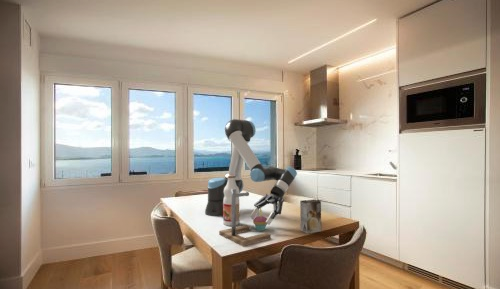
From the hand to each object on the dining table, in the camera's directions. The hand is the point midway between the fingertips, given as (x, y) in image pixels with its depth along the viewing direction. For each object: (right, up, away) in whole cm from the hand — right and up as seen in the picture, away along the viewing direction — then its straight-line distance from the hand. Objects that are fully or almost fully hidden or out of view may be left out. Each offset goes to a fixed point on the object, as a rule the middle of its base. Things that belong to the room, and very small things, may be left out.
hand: (259, 220), depth 145 cm
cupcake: (+1, -5, +1) cm, 6 cm away
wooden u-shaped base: (-8, -5, -11) cm, 14 cm away
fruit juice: (-16, -5, +12) cm, 21 cm away
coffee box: (+27, -5, -1) cm, 28 cm away
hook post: (-10, -3, -12) cm, 16 cm away
